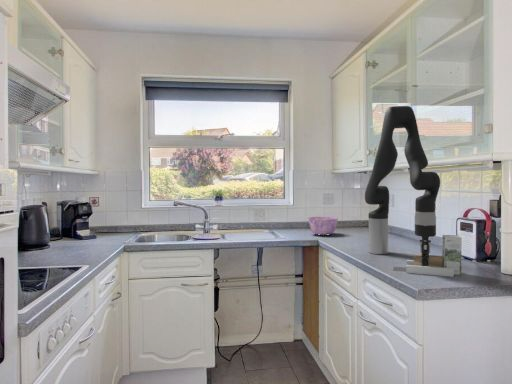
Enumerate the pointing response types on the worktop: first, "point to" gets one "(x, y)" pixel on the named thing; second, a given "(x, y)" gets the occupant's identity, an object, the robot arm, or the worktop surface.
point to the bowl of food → (323, 225)
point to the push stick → (429, 260)
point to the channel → (425, 269)
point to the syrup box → (452, 252)
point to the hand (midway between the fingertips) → (425, 267)
